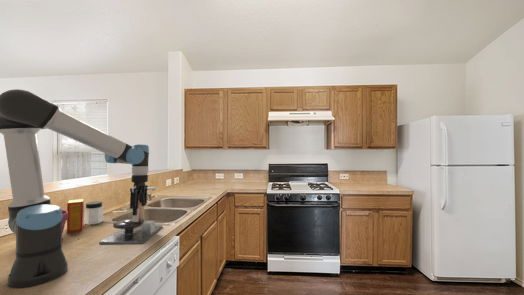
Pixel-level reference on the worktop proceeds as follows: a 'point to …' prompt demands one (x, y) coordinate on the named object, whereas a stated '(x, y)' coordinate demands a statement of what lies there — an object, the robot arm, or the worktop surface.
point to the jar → (93, 213)
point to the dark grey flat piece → (133, 234)
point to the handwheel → (129, 223)
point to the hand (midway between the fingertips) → (138, 219)
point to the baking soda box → (75, 215)
